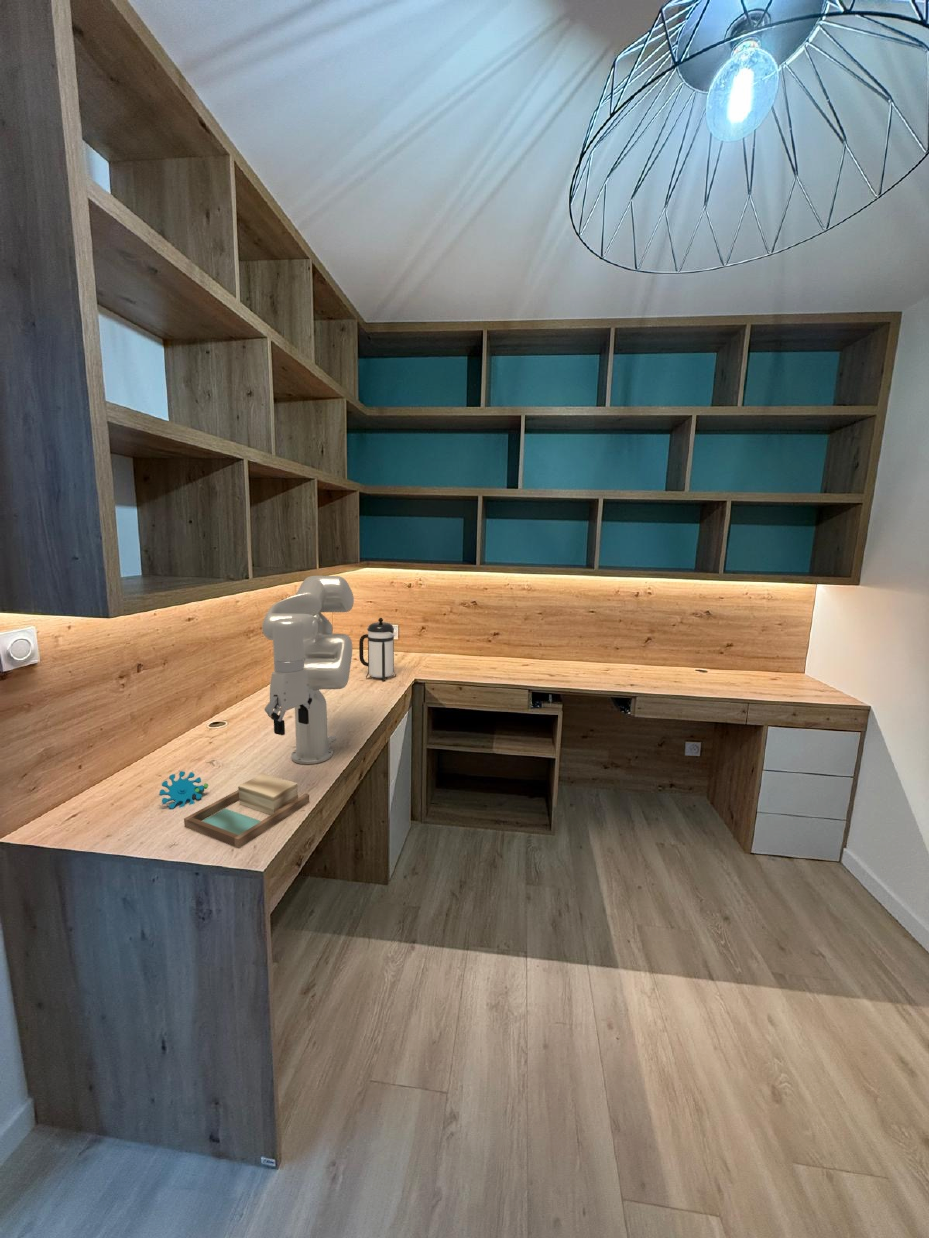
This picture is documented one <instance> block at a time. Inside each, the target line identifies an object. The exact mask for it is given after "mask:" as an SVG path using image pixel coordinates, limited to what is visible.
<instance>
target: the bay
mask: <svg viewBox="0 0 929 1238" xmlns="http://www.w3.org/2000/svg"><path fill="white" fill-rule="evenodd" d="M238 801H239V790H238V789H237V790H235V791H233V792H232V793H230V794H228V795H226V796H224V797H222V798H220V799H218V800H216V801H214V802H212V803H209V805H207V806H205V807H203V808H200V809H199V810H197V811H196V812H193V813H192V814H190V815H188V816H186V817H184V818H183V823H184V824H183V825H184V828H187V829H189V830H192V831H194V832H196V833H199V834H201V835H204V836H207V837H209V838H211V839H214V840H217V841H219V842H221V843H225V844H227V845H228V846H231V847H235V848H237V849H240V848H242V847H243V846H245V845H246V844H248V843H249V842H251V841H253V840H254V839H255V838H257V837H259V836H261V834H263V833H265V832H266V831H268V830H269V829H271V828H273V827H274V826H275V825H277V824H279V823H280V822H282V821H283V820H284V819H286V818H288V817H290V815H292V814H294V813H296V812H297V811H298V810H300V809H301V808H304V806H306V805H308V804H309V803H310V794H308V793H305V794H302V795H301V796H298V799H296V800H294V801H293V802H291V803H290V804H288V805H286V806H285V807H283V808H282V809H280V810H278V811H277V812H275V813H274V814H272V815H269V816H267V817H266V818H264V819H262V820H260V819H256V818H253V817H250V816H247V815H245V814H242V813H240V812H236V811H234V810H231V809H229V808H228V807H229V806H231V805H233V804H234V803H235V804H236V802H238Z"/></svg>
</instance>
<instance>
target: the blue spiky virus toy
mask: <svg viewBox="0 0 929 1238" xmlns="http://www.w3.org/2000/svg"><path fill="white" fill-rule="evenodd" d="M185 775H186V772H185V771H182V770H181V771H179V774H178V776H179V777H178V778H177V780H175V778H176V774H175V773H172V774H169V776H168V778H169V780H170V781H171V785H169V782H168V780H164V781H163V782H162V783H161V786H162V787H164V788H167V790H168V792H167V791H166V790H165V789H163V788H161V789H160V791H159V794H158V796H168V798H167V797H163V798H162V799H161V803H162V805H165V804H167V803H168V802H171V801H174V802H172V803H170V804H169V805H168V808H169V809H170V810H173V809H174V808H175V806H176V805H177V804H179V803H180V802H181V804H180V805H179V807H178V808H179V809H181V808H185V806H186V805H185V804H186V802H187V801H189V803H188V805H189V806H190V805H194V804H195V803H196V802H195V801H194V800H193V796H195V798H196V799H195V800H197V801H199V800H200V799H201V798H202V796H203V795H202V794H203V793H204V792H205V790H207V789H208V787H209V783H207V782H206V783H204V784H202V785H196V784H200V783H201V782H202V779H201V777H200V776H199V777H196V778H195V779H193V780H192V779H191V778H194V777H195V773H194V772H193V771H191V772H189V774H188V776H187V777H185V778H182V777H184V776H185ZM189 779H191V780H189ZM194 783H196V784H194Z"/></svg>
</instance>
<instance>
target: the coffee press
mask: <svg viewBox="0 0 929 1238" xmlns="http://www.w3.org/2000/svg"><path fill="white" fill-rule="evenodd" d="M377 621H378V622H372V623H370V624H369V625H368V628H366V629H367V633H368V634H367V633H366V634H363V635H361V636H360V638H359V641H358V642H359V644H358V647H359V649H358V650H359V651H358V654H359V660H360V663H361V664H362V665H363V666H365V667H367V668H368V669H367V670H368V671H367V674H366V676H365V678H366V680H369V679H370V678H376V679H379V678H380V679H381V682H386V678H389V677H391V676H392V678H396V677H397V674H396V673H395V661H394V660H395V651H394V650H395V646H394V644H395V643H394V639H395V638H394V636H395V634H396V633H395V628H394V626H393V625H392V623H390V622H385V621H384V618H382V617H379V618H378V620H377ZM365 639H367V661H366V660H365V658H364V640H365ZM394 674H395V675H394ZM368 676H369V677H368Z"/></svg>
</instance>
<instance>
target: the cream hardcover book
mask: <svg viewBox="0 0 929 1238" xmlns="http://www.w3.org/2000/svg"><path fill="white" fill-rule="evenodd" d="M298 787H299V786H298V783H297V782H295V781H291V780H288V779H284V778H281V777H278V776H274V775H271V774H268V773H265V772H263V773H261V774H258V775H257V776H255V777H253V778H251V779H249V780H247V781H245V782H243V783H241V784H239V785H238V786H237V790H239V800H238V801H239V802H238V803H239V805H241V806H243V807H246V808H250V809H252V810H254V811H255V810H256V811H257V812H258V811H259V812H261V813H264V814H267V815H269V816H270V815H272V814H274V813H275V812H277V811H278V810H280V809H282V808H283V807H285V806H286V805H288V804H290V803H291V802H293V801H294V800H296V799H298V798H299V794H298V793H299V792H298Z"/></svg>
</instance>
